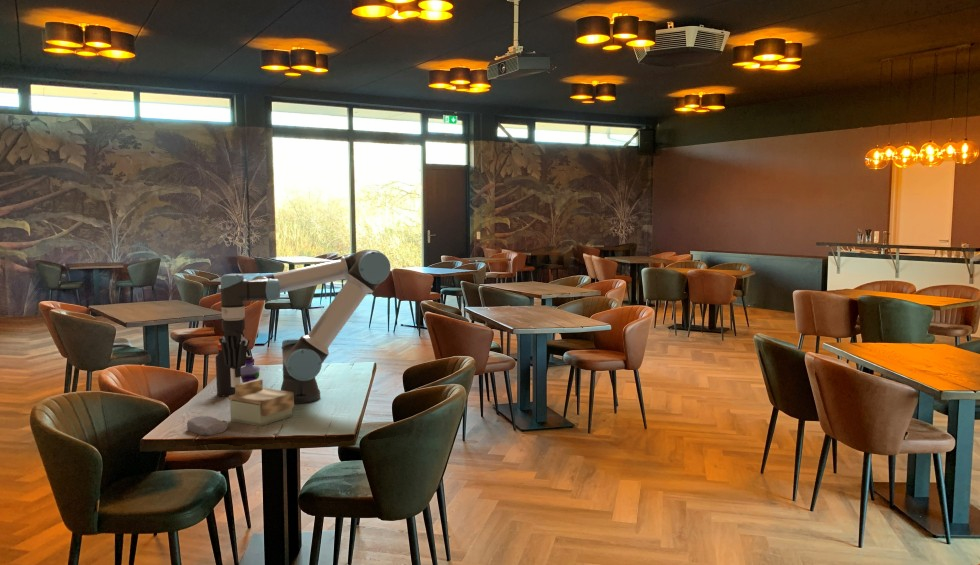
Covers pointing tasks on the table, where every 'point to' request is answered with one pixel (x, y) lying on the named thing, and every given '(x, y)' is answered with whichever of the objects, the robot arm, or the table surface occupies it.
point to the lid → (263, 397)
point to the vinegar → (223, 376)
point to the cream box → (254, 414)
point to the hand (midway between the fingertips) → (235, 386)
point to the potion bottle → (249, 370)
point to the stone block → (206, 425)
